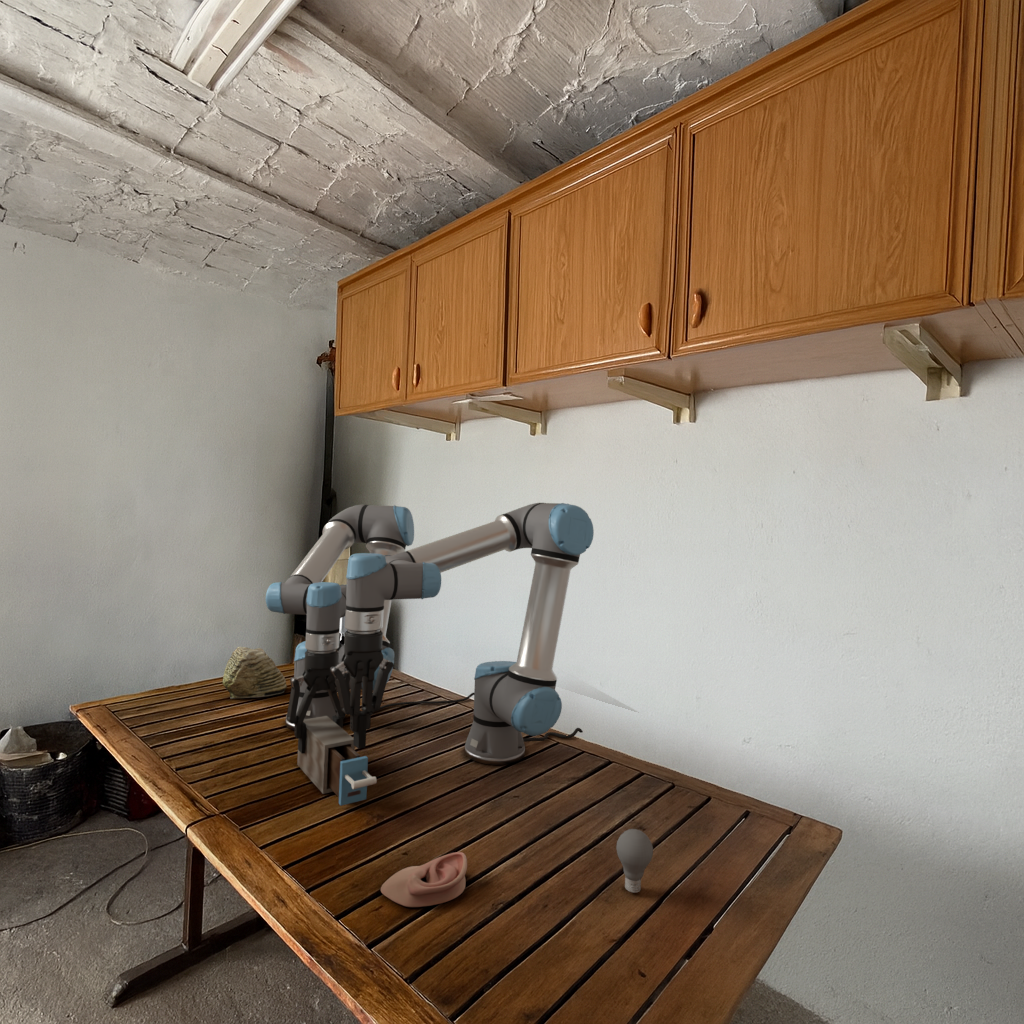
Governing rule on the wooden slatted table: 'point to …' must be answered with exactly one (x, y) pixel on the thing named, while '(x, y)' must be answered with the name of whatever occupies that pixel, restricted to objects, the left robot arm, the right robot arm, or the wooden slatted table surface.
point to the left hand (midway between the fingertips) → (318, 747)
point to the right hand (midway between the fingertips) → (359, 745)
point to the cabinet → (321, 749)
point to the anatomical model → (428, 882)
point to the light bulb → (634, 857)
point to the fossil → (252, 674)
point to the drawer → (348, 774)
